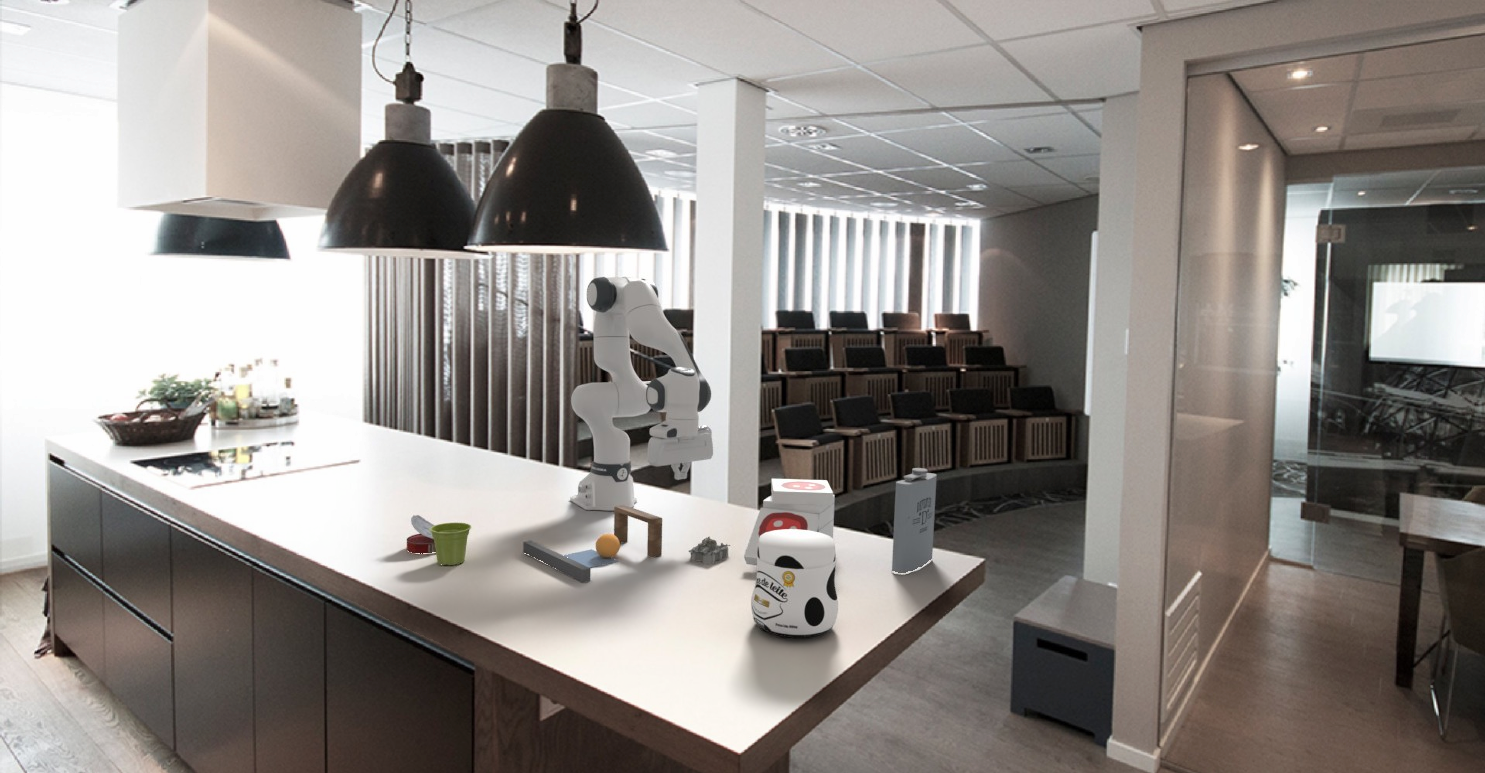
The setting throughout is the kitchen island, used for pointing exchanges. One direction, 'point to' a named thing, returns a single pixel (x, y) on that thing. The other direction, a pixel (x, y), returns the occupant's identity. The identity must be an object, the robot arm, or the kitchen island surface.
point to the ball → (607, 545)
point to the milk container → (795, 583)
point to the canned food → (421, 537)
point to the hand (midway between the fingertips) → (680, 478)
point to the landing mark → (590, 558)
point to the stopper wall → (557, 561)
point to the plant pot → (450, 542)
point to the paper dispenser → (793, 510)
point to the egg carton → (708, 551)
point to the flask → (914, 520)
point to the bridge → (653, 521)
